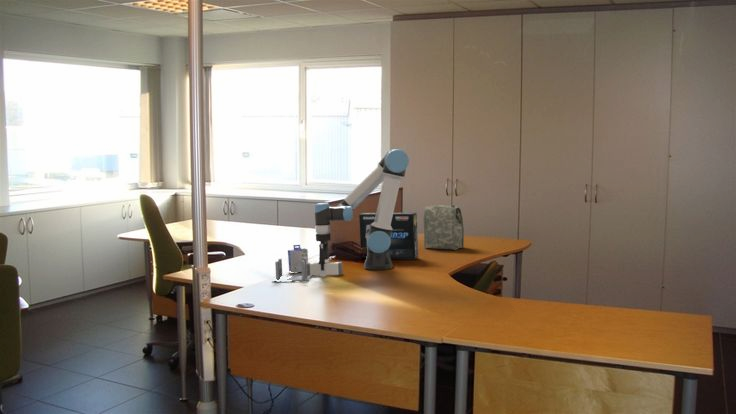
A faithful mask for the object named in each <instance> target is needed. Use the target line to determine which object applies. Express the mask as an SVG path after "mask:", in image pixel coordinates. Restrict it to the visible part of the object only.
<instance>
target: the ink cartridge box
mask: <svg viewBox="0 0 736 414" xmlns="http://www.w3.org/2000/svg"><path fill="white" fill-rule="evenodd" d="M308 253H309V251H308V248H301V244H295V245H294V244H293V249H288V250H287V255H288V256H287V259H288V260H287V261H288V272H289V271H291V272H302V265H301V261H304V258H307V263H309V255H308Z"/></svg>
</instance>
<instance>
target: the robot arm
mask: <svg viewBox="0 0 736 414" xmlns="http://www.w3.org/2000/svg"><path fill="white" fill-rule="evenodd" d="M409 160H410V159H409V156H408V153H406V151H404V150H403V149H399V148H392V149H389V150H388V151H387V152H386V154H385V155H384V156H383V158H381V160H380V161H379V162H378V163H377V166H376V168H374V170H373V171H371V172H370V174H368V176H366V177H365V178H364V179H363V180H362V181H361V182H360V183H359V184H358V185H357V186H356V187H355V188H354V189H353V190H352V191H351V192H350V193H349V194H348V195H347V196H346V197H345V198H344V199H343V200H342V201H341V202H339V204H336V206H330V203H328V202H319V203H316V204H315V205H314V219H315V220H314V221H315V226H314V229H315V233H316V234H315V241H316V242H320V243H319V244H318V246H319V247H318V248H319V254H318V255H319V258H318V259H319V261H318V262H317V263H318V264H320V275H319V276H320V277H321V278H322V277H325V278H326V276H327V275H326V268H325V262H329V260H330V259H331V257H330V255H329V245H328V243H329V241H331V239H332V238H331V236H332V235H331V222H349V221H352V220H354V215H353V214H354V212H353V211H354V210H355V209H356V208H357V207H358V206H359V205H360V204H361V203H362V202H363V201H364V200H365V199H366V198H367V197H368V196H369V195H371V194H372V193H373V192H374V190H375V189H377V188H378V186H380V185H381V184H382V185H381V189H380V194H379V200H378V203H377V208H376V212H375V213H376V217H375V221H374V222H373V223H372V224H371V226H367V227H366V235H367V256H366V259H365V260H364V269H366V270H368V271H369V270H371V271H380V270H381V271H382V270H389V269H392V268H393V261H392V259H391V258H390V255H389V247H390V244H391V240H390V239H391V235H392V230H393V229H392V227H391V221H392V217H393V213H395V208H396V203H397V198H398V194H399V189H400V184H401V181H402V180H403V179H404V178H405V176H406V172H407V168H408V166H409V164H410V161H409Z"/></svg>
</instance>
